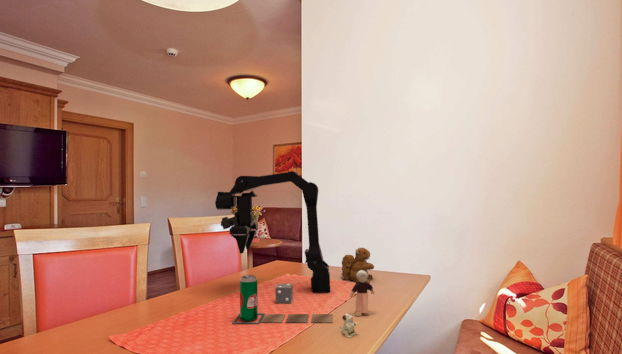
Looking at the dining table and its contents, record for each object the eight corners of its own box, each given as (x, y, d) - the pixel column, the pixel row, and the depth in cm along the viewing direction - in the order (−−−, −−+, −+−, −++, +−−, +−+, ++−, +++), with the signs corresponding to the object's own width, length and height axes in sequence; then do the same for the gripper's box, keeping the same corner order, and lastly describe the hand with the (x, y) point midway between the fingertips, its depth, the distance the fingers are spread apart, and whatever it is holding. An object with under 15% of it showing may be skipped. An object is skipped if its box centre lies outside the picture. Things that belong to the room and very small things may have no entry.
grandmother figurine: (356, 318, 94) (355, 273, 95) (348, 314, 98) (347, 270, 99) (378, 313, 98) (376, 269, 99) (370, 309, 101) (368, 267, 102)
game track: (332, 314, 98) (332, 313, 98) (332, 324, 91) (332, 323, 91) (239, 314, 100) (239, 313, 100) (232, 324, 92) (232, 323, 92)
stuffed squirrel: (370, 284, 129) (369, 250, 130) (336, 281, 135) (335, 248, 136) (376, 278, 138) (375, 246, 139) (344, 275, 144) (343, 245, 145)
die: (292, 298, 114) (292, 283, 114) (290, 303, 109) (290, 287, 109) (278, 298, 114) (277, 283, 114) (275, 303, 109) (275, 287, 109)
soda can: (249, 323, 92) (249, 279, 93) (236, 320, 95) (235, 277, 96) (261, 317, 97) (261, 275, 97) (248, 314, 99) (248, 273, 100)
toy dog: (350, 339, 81) (349, 318, 82) (337, 332, 85) (336, 312, 86) (360, 335, 83) (360, 314, 84) (347, 329, 87) (347, 309, 88)
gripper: (230, 208, 136) (230, 247, 135) (214, 210, 117) (215, 256, 116) (257, 208, 135) (258, 247, 134) (246, 210, 116) (246, 255, 116)
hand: (244, 251), depth 125 cm, fingers open, 9 cm apart
